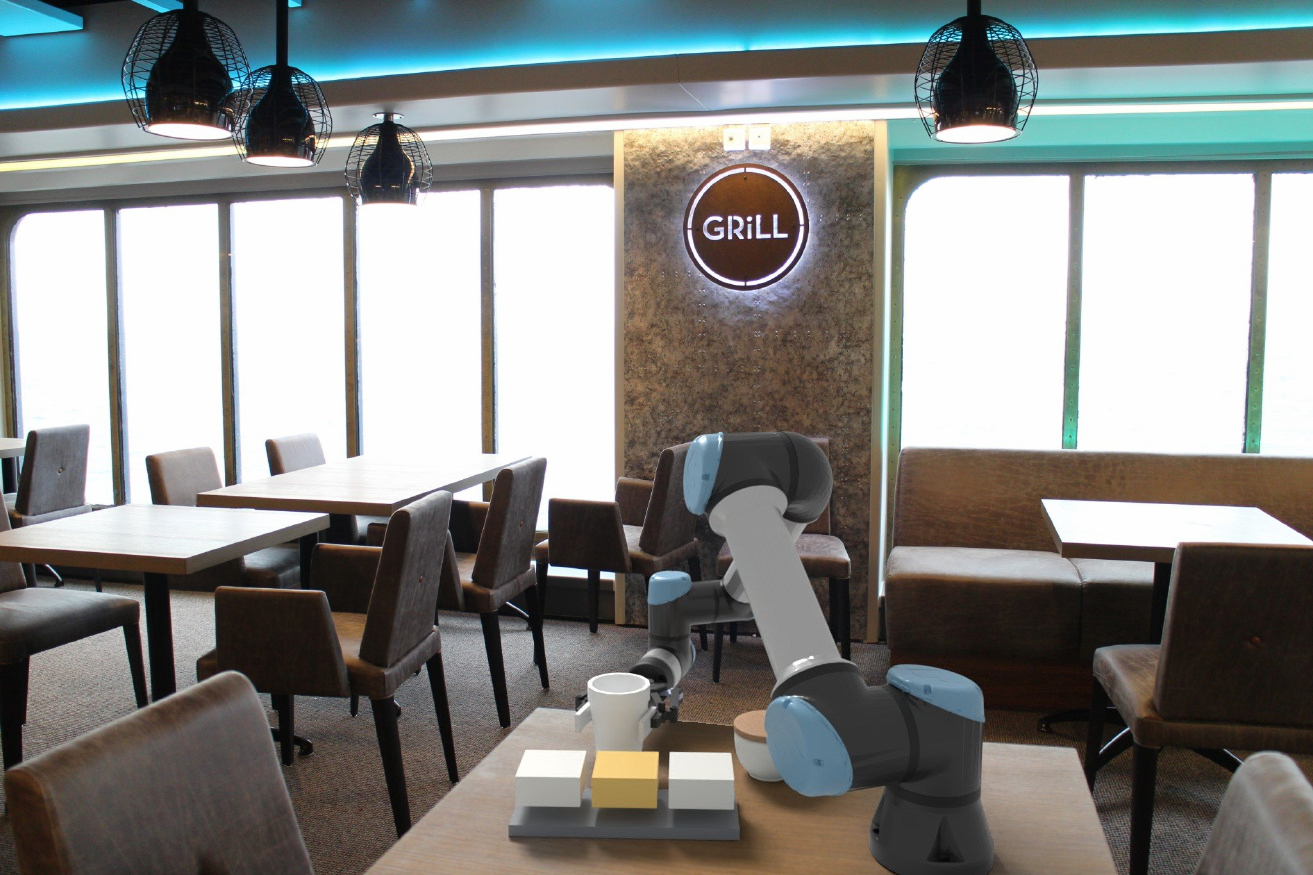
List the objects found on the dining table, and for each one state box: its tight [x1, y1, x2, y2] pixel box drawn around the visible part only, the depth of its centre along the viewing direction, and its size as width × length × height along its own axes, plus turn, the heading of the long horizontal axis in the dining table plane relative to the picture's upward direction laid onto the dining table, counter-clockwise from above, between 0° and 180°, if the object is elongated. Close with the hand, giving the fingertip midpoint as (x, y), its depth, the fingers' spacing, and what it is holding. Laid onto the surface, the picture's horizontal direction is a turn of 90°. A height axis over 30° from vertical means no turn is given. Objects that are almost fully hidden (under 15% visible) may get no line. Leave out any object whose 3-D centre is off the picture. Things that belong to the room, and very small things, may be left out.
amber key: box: [591, 751, 660, 808], centre depth 132 cm, size 8×8×4 cm
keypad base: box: [508, 787, 741, 841], centre depth 132 cm, size 30×11×2 cm, turn 88°
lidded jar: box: [733, 709, 784, 783], centre depth 146 cm, size 11×11×9 cm
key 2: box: [668, 751, 735, 810], centre depth 132 cm, size 8×8×4 cm
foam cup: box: [587, 672, 650, 756], centre depth 148 cm, size 10×9×13 cm
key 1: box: [514, 749, 588, 807], centre depth 132 cm, size 8×8×4 cm
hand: (608, 727), depth 144 cm, fingers closed on foam cup, 9 cm apart
